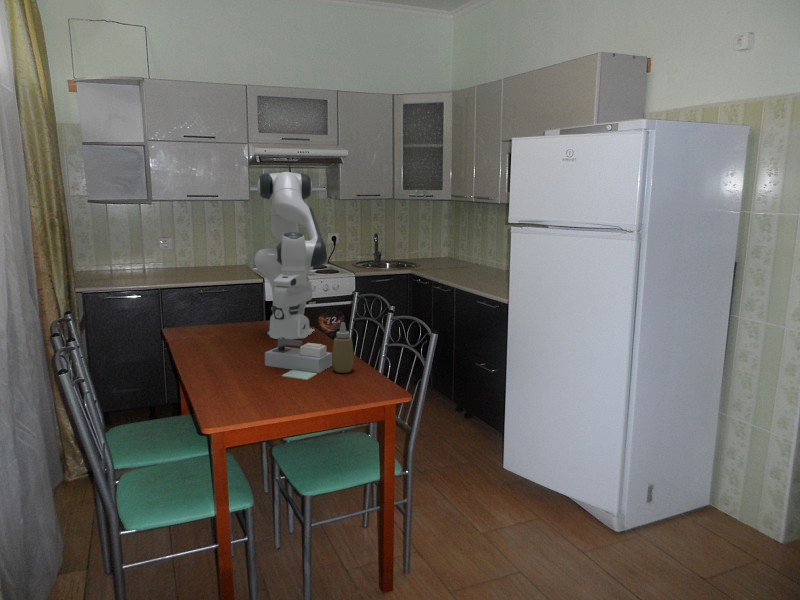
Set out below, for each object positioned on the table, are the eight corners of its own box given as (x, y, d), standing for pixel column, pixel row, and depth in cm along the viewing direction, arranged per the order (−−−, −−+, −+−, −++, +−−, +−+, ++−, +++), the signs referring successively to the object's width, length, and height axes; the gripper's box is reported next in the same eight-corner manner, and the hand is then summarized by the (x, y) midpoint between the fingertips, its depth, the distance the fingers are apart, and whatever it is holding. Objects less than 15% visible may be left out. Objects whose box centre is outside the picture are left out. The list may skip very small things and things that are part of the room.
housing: (279, 358, 234) (279, 345, 233) (332, 365, 226) (332, 352, 225) (265, 365, 224) (264, 351, 223) (319, 373, 216) (318, 358, 215)
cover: (307, 351, 226) (307, 341, 225) (326, 353, 223) (326, 344, 222) (300, 354, 221) (300, 344, 220) (319, 357, 218) (319, 347, 217)
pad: (292, 370, 219) (292, 369, 219) (316, 374, 215) (316, 373, 215) (281, 376, 212) (281, 375, 212) (306, 380, 209) (306, 378, 209)
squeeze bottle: (354, 374, 216) (354, 324, 213) (331, 374, 215) (331, 324, 212) (354, 367, 224) (354, 319, 221) (332, 367, 223) (332, 319, 220)
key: (280, 348, 228) (280, 337, 227) (303, 351, 225) (303, 339, 224) (277, 350, 226) (276, 338, 225) (299, 352, 222) (299, 341, 222)
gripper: (301, 274, 228) (301, 310, 230) (270, 281, 209) (271, 320, 212) (316, 275, 226) (316, 312, 228) (286, 282, 207) (287, 322, 209)
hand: (294, 316), depth 220 cm, fingers open, 8 cm apart
